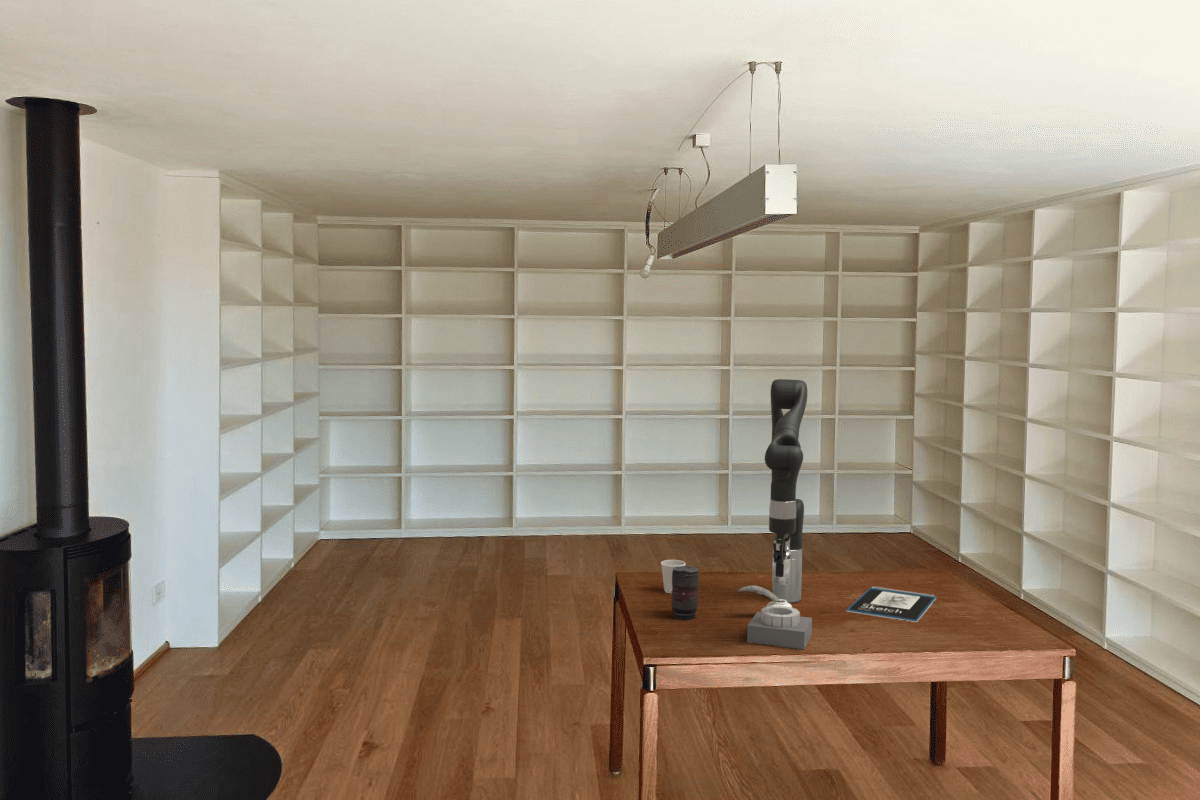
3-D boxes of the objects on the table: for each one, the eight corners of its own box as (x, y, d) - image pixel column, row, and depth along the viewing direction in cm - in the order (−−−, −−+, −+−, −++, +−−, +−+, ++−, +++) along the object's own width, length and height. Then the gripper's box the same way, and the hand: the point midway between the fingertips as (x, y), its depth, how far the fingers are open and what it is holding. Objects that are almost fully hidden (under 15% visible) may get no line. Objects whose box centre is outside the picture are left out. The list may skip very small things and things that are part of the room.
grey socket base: (756, 628, 288) (757, 601, 288) (811, 634, 283) (812, 607, 282) (747, 642, 275) (747, 614, 274) (804, 649, 270) (804, 621, 269)
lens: (773, 579, 281) (774, 548, 280) (791, 581, 279) (792, 550, 278) (770, 583, 276) (771, 552, 275) (788, 585, 274) (789, 554, 274)
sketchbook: (846, 613, 306) (846, 607, 305) (871, 591, 332) (871, 585, 331) (916, 624, 295) (916, 617, 295) (936, 600, 321) (936, 594, 321)
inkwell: (798, 621, 295) (799, 588, 295) (741, 623, 293) (742, 590, 292) (788, 612, 305) (789, 580, 304) (732, 614, 302) (733, 582, 301)
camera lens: (696, 621, 294) (697, 572, 293) (669, 619, 296) (670, 571, 295) (699, 613, 302) (699, 566, 301) (673, 611, 304) (673, 564, 302)
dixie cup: (662, 587, 331) (662, 559, 330) (686, 589, 329) (687, 560, 329) (658, 594, 323) (659, 564, 322) (683, 596, 321) (684, 566, 320)
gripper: (791, 521, 268) (790, 581, 269) (799, 511, 281) (798, 569, 283) (764, 519, 271) (763, 579, 272) (774, 509, 284) (772, 567, 285)
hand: (781, 573), depth 277 cm, fingers closed on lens, 5 cm apart
